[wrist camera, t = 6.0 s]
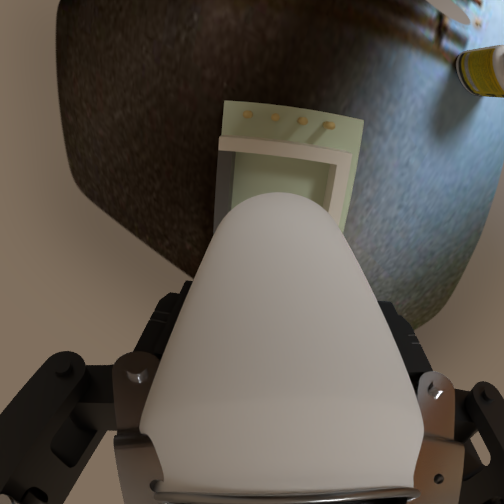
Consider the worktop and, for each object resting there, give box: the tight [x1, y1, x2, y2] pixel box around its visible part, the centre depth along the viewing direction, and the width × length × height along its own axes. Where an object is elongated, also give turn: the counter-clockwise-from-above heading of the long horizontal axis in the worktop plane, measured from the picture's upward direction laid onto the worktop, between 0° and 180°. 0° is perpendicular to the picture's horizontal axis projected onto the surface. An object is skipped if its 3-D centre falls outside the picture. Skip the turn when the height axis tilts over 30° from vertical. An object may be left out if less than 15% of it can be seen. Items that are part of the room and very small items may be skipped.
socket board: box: [213, 101, 364, 235], centre depth 22 cm, size 13×11×4 cm
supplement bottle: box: [456, 45, 504, 98], centre depth 13 cm, size 5×5×8 cm
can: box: [139, 192, 424, 504], centre depth 9 cm, size 6×6×12 cm
